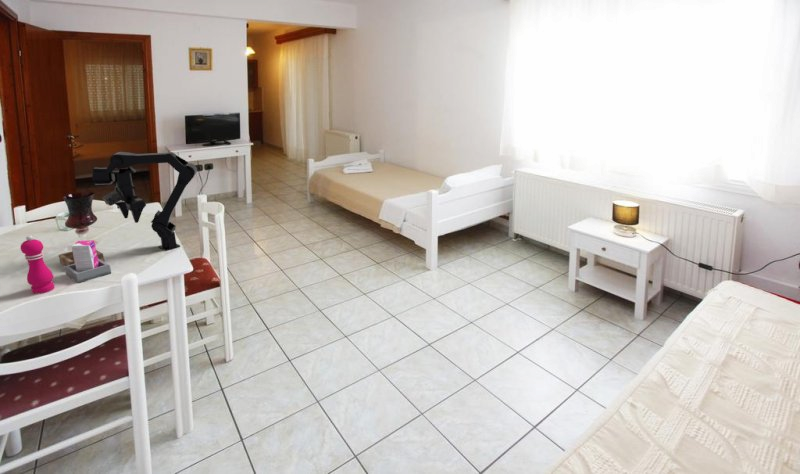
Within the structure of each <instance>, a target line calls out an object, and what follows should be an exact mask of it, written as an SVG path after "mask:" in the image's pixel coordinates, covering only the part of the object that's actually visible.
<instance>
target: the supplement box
mask: <svg viewBox="0 0 800 474" xmlns="http://www.w3.org/2000/svg"><path fill="white" fill-rule="evenodd" d="M96 250H97V247H96V242H95V240H77V241H76V242H75V243H73V244H72V245H71V252H72V251H73V256H74V261H75V265H76V270H77V272H78V273H79V272H83V271H86V270H90V269H93V268H97V267H99V262H98V257H97V252H96Z"/></svg>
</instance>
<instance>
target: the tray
mask: <svg viewBox="0 0 800 474" xmlns="http://www.w3.org/2000/svg"><path fill="white" fill-rule="evenodd" d="M98 262H99V267H97V268H93V269H90V270H86V271H83V272H79V273H78V272H77V270H76V265H75V264H71V265H68V266H64V265H63V267H64V271H65V275H66V276H67V277H68V278H70V279H72V280H73V281H75V282H76V283H77V284H80V283H83V282H86V281H87V282H88V281H90V280H94V279H97V278H100V277H103V276H108V275H111V274H112V270H111V265H110V264H109V263H107V262H106V261H105V260H104V261H102V260H100V259H98Z"/></svg>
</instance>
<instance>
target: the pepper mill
mask: <svg viewBox="0 0 800 474" xmlns="http://www.w3.org/2000/svg"><path fill="white" fill-rule="evenodd" d="M43 250H44V244H43V242H42V241H40V240H39V239H34V237H33V236H32V235H27V236H26V238H25V241H23V242H22V243H21V244H20V251H21V253H23V254H24V260H26V261H27V264H28V271H27V275H26V280H27V284H29V285H30V286H31V287H30V288H31V292H32V294H36V293H37V294H38V293H40V294H45V292H46V293H49V292H51V291H53V290H54V289H55V283H54V282H53V279H54V274H53V272H52V270H51V269H50V268H49V267H48V266H47V264H46V263H45V261H44V256H45V254H44V252H43ZM38 295H39V294H38Z"/></svg>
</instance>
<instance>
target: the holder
mask: <svg viewBox="0 0 800 474" xmlns="http://www.w3.org/2000/svg"><path fill="white" fill-rule="evenodd" d="M96 252H97V257H98V259H100V260H102V261H104V262H105V258H104V253H103V252H101V251H99V250H97V249H96ZM57 256H58V259H59V262H60V265H61V264H62V266H63V267H64V266H68V265H71V264H75V261H74V256H73V251H72V250H71V251H69V252H65V253H64V252H63V253H61V254H58V255H57Z"/></svg>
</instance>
